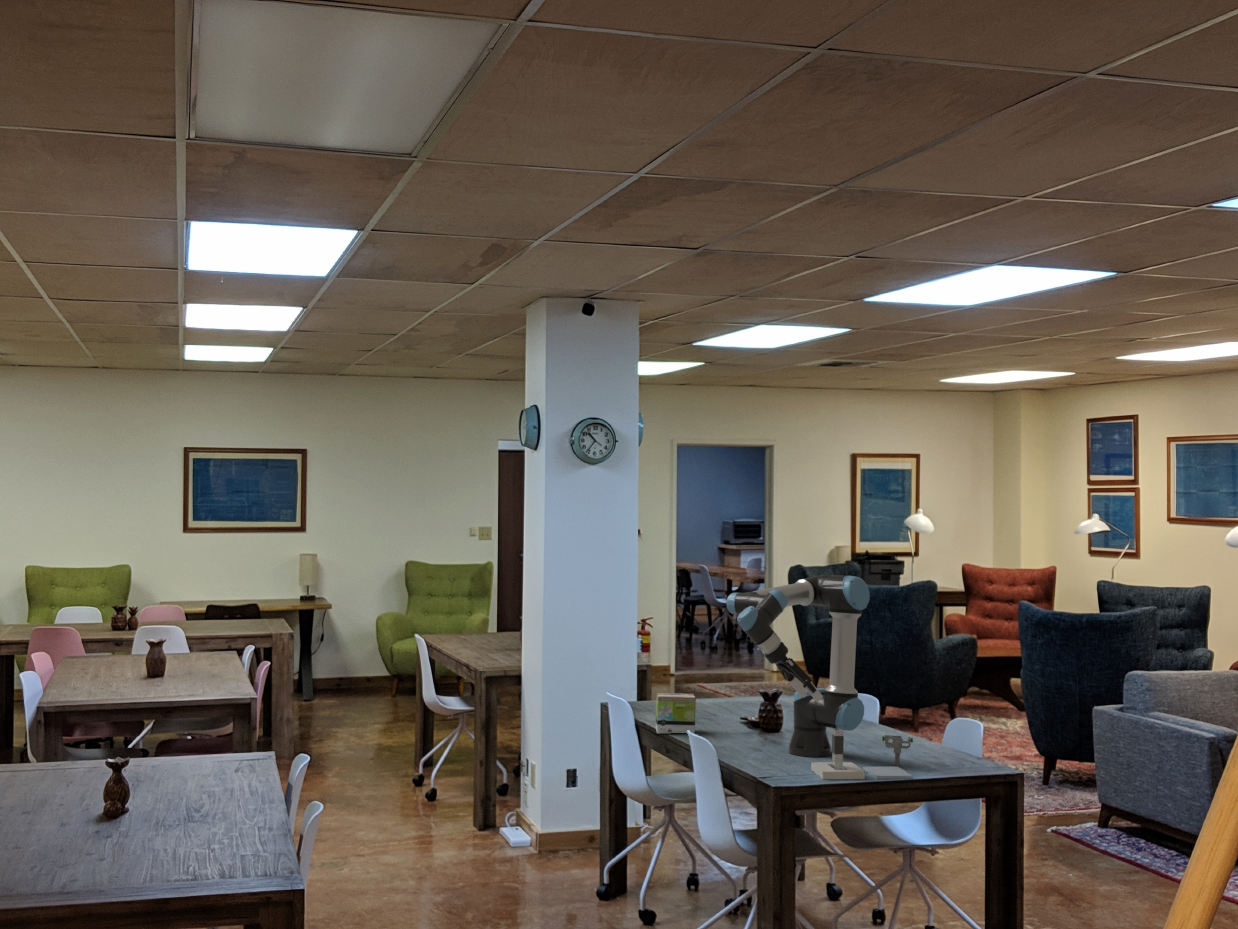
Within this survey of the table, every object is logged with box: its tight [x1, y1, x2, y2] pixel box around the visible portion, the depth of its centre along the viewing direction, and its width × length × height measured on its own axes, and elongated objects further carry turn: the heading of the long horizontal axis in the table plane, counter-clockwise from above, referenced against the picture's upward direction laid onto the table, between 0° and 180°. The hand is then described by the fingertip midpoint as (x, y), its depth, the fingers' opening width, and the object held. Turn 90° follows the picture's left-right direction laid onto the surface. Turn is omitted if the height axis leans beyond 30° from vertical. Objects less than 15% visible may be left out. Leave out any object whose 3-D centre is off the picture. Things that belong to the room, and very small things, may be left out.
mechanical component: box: [881, 734, 914, 767], centre depth 400 cm, size 3×10×10 cm, turn 78°
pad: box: [862, 766, 913, 780], centre depth 386 cm, size 14×12×1 cm
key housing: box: [810, 761, 866, 780], centre depth 385 cm, size 14×14×2 cm
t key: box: [830, 728, 845, 770], centre depth 385 cm, size 8×3×15 cm, turn 6°
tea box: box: [655, 692, 697, 734], centre depth 456 cm, size 15×10×15 cm
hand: (812, 697), depth 385 cm, fingers open, 13 cm apart
